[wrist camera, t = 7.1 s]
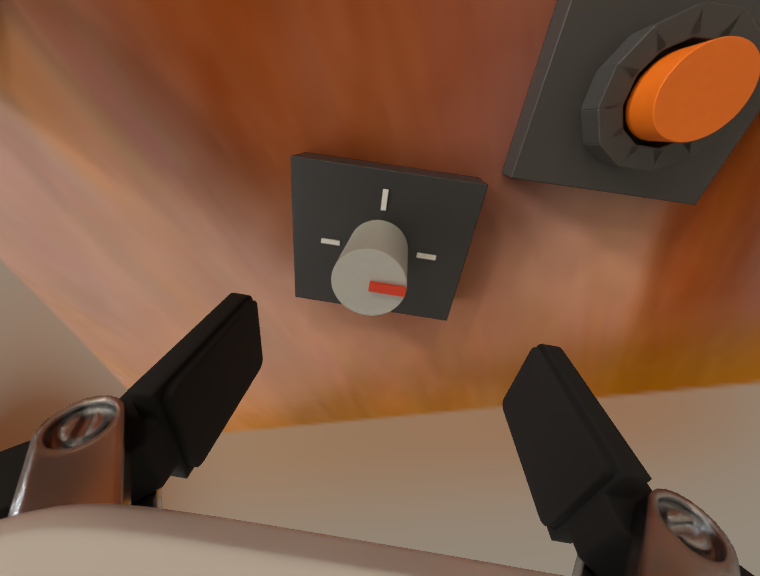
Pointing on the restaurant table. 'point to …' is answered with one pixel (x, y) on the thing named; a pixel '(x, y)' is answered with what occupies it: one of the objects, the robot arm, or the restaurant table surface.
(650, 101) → the power button
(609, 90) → the power block
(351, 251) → the timer knob
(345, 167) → the panel
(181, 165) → the restaurant table surface
